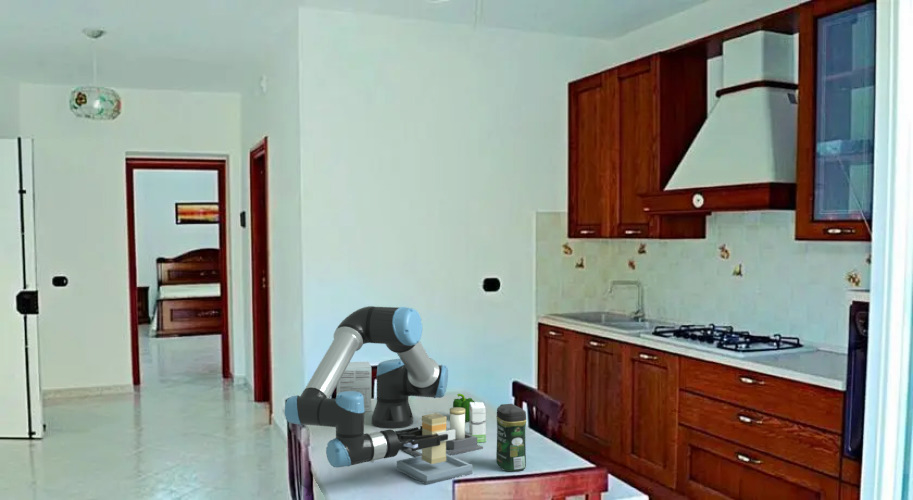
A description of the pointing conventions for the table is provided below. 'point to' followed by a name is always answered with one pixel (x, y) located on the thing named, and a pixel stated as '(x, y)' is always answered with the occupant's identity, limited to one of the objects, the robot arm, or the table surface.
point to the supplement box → (357, 381)
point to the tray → (434, 469)
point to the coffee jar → (511, 438)
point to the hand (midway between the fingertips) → (448, 432)
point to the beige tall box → (429, 427)
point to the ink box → (478, 421)
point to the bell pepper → (463, 405)
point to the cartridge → (458, 422)
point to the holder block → (456, 446)
